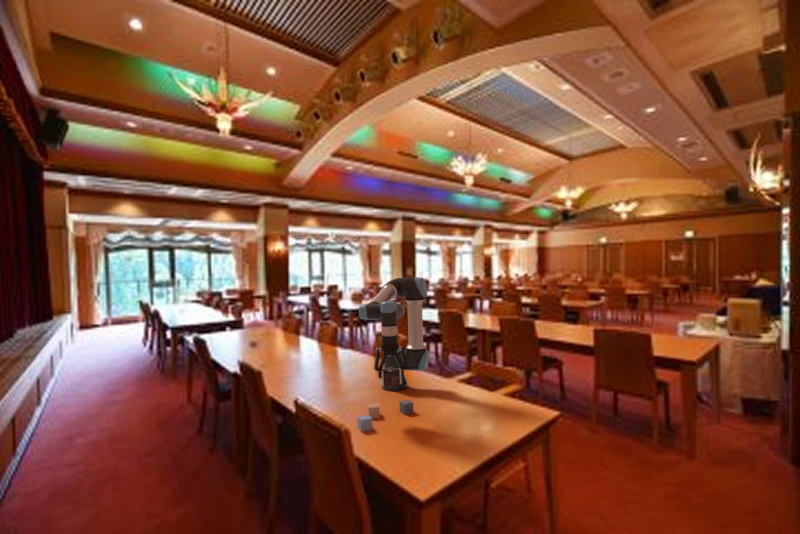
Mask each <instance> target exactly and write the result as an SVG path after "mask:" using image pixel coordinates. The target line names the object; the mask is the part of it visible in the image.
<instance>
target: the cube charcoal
mask: <svg viewBox="0 0 800 534" xmlns="http://www.w3.org/2000/svg"><path fill="white" fill-rule="evenodd" d="M398 403H399V405H398V406H399V412H400V413H401V414H403V415H404V416H405V415H409V414H413V413H415V411H414V401H411V400H410V399H403V400H399V401H398Z"/></svg>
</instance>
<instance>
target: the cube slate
mask: <svg viewBox="0 0 800 534" xmlns="http://www.w3.org/2000/svg"><path fill="white" fill-rule="evenodd" d="M357 429H359V431H360V432H361V433H362V431H363V432H367V431H373V418H371V417H370V416H369V415H368V414H364V415H359V416H357Z"/></svg>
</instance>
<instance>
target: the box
mask: <svg viewBox="0 0 800 534" xmlns="http://www.w3.org/2000/svg"><path fill="white" fill-rule="evenodd" d="M382 371H383V378H384V386H388V387H393V386H396V385H399V384H400V371H399V369H398V368H393V367H389V368H385V369H384V368H382Z"/></svg>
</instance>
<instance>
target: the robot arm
mask: <svg viewBox="0 0 800 534" xmlns="http://www.w3.org/2000/svg"><path fill="white" fill-rule="evenodd" d="M427 296H428V286H427V283H426V280H425V278H423V277H421V276H420V277H419V276H415V277H413V276H412V277H396V278H393V279H390V280H389V281H388V282H387V281H386V283H385V284H384V285H383V286H381V289H380V291H379V292H378V293H377V294H376V295H375V296H374V297H373V298H372V300H370V301H369V303H367V304H366V303H362V304H360V305H359V308H358V315H359V318H360V319H361V320H381V322H380V325H381V326H380V329H381V331H380V332H381V347H376V348H375V358H374V359H375V360H374V367H373V369H374V371H376V372H377V374H378V375H377V377H378V379H380V385H381V388H382V389H383V390H385V391H389V392H391V391H392V392H394V391H395V392H397V391H402V390H406V389H407V388H408V382H407V379H406V376H405V371H425V370H427V368H428V366H429V363H430V362H429V361H430V351H429V349H427V347H426V345H425V344H424V332H423V331H424V327H423V325H424V323H423V321H424V319H423V303H424V301H425V298H427ZM395 298H404V302H406V303H407V304H406V305H407V327H408V328H407V330H408V331H407V333H408V336H407V337H408V343H407V345H406V347H405V346H404V345H401V346H400V345H399V336H398V335H397V334H398V320H400V319H402V318H403V316H404V315H405V307H404V305H402V304H401V303H397V302H396V301H393V300H394V299H395ZM381 352H383V353H382V357H381V360H380V355H381V354H380V353H381ZM389 367H393V368H398V369H399V371H400V384H399V385H396V386H393V387H388V386H384V378H383V371H382V369H385V368H389Z"/></svg>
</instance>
